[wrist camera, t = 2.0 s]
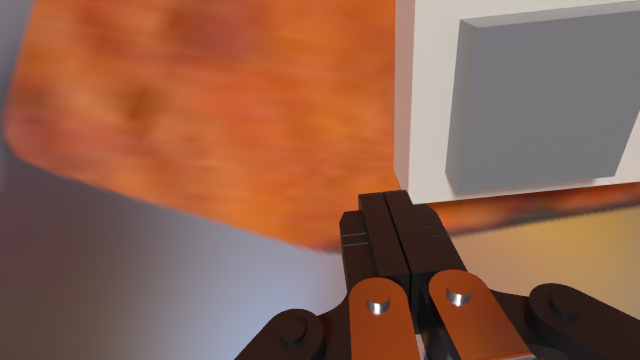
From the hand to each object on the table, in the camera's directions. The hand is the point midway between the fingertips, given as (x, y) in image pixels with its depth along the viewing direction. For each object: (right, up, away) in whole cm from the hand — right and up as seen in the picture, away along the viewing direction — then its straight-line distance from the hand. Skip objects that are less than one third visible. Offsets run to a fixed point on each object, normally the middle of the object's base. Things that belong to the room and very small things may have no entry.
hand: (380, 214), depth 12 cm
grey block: (+9, +5, +7) cm, 12 cm away
